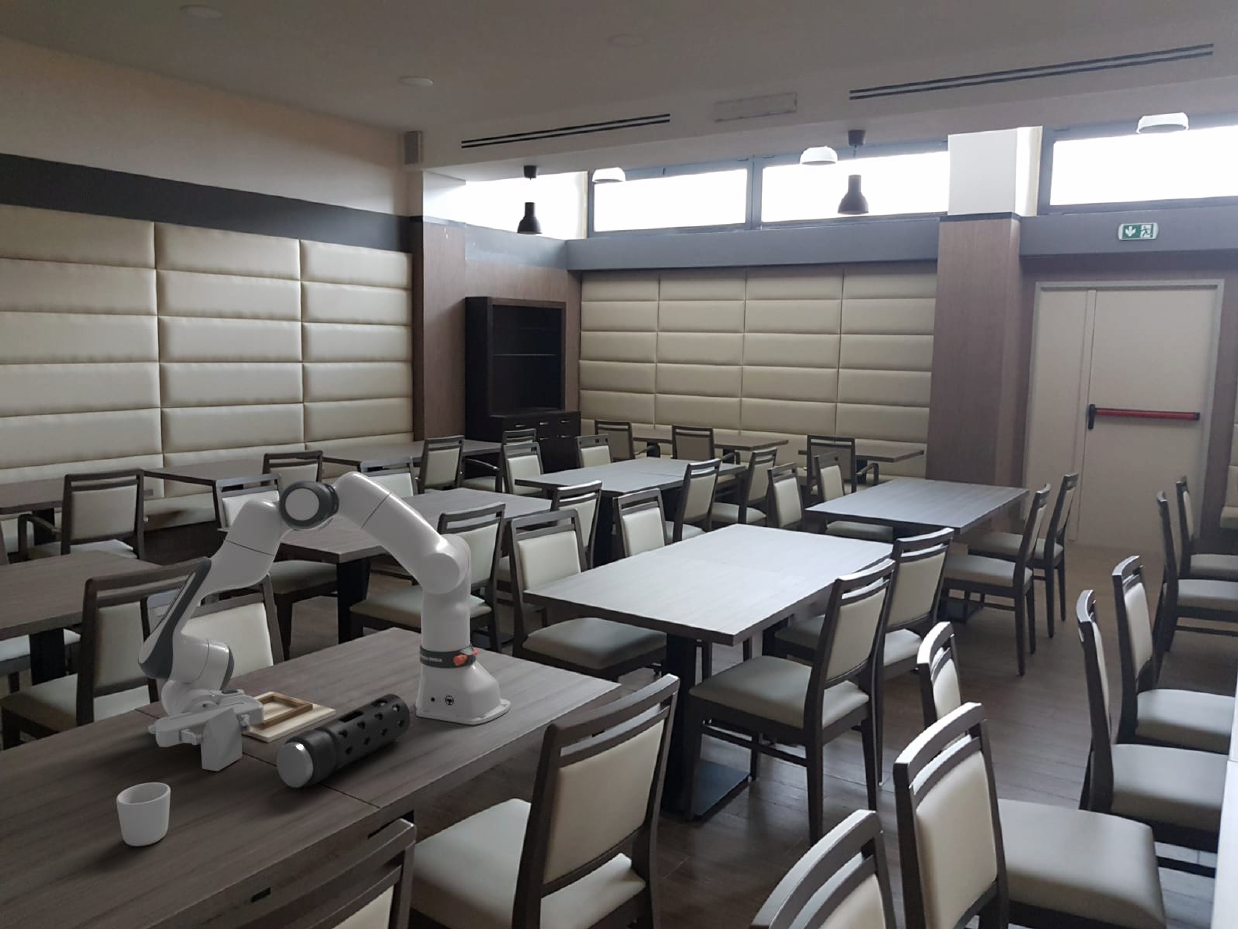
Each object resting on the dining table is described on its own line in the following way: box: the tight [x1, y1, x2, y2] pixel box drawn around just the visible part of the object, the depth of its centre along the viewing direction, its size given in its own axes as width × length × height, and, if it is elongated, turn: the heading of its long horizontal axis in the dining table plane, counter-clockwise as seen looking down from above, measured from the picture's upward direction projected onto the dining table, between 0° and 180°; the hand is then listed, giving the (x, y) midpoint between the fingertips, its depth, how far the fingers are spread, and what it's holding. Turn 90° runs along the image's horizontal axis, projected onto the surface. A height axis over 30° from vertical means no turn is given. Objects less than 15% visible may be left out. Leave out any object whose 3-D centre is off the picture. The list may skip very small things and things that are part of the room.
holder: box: [241, 691, 337, 743], centre depth 203 cm, size 22×18×2 cm
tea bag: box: [200, 708, 243, 772], centre depth 178 cm, size 4×7×10 cm, turn 161°
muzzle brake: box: [275, 693, 411, 789], centre depth 179 cm, size 10×28×10 cm, turn 153°
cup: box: [115, 782, 171, 847], centre depth 152 cm, size 11×8×8 cm
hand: (222, 734), depth 178 cm, fingers closed on tea bag, 8 cm apart
